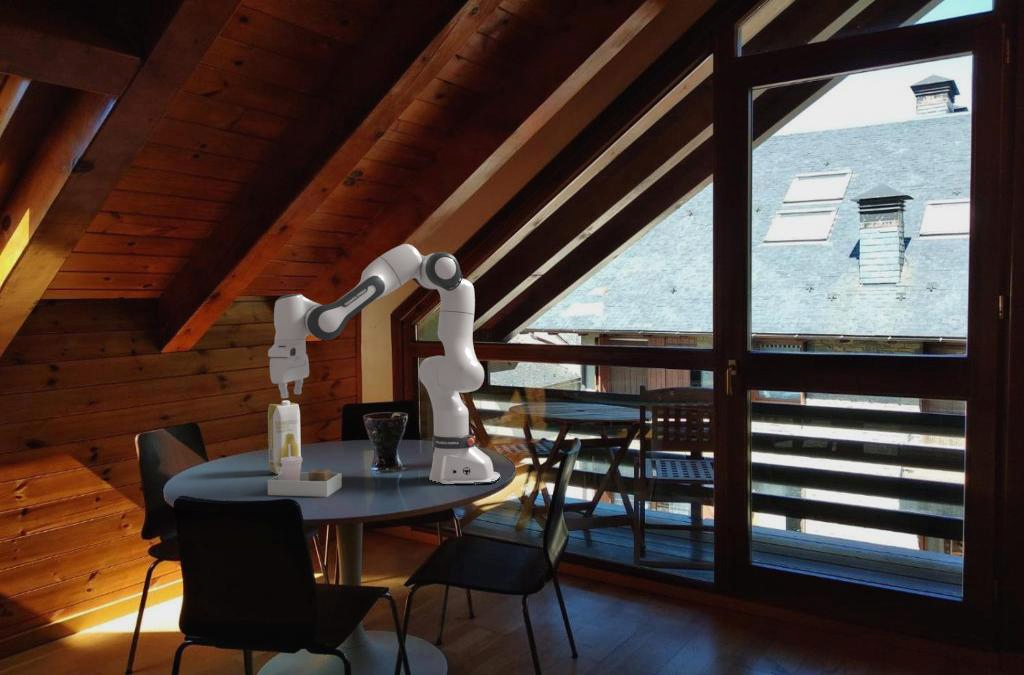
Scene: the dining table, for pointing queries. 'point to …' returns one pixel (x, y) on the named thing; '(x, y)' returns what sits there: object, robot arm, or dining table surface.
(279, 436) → the juice carton
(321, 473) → the walnut block
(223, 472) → the dining table surface
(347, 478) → the dining table surface
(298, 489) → the crate
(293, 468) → the smoothie
